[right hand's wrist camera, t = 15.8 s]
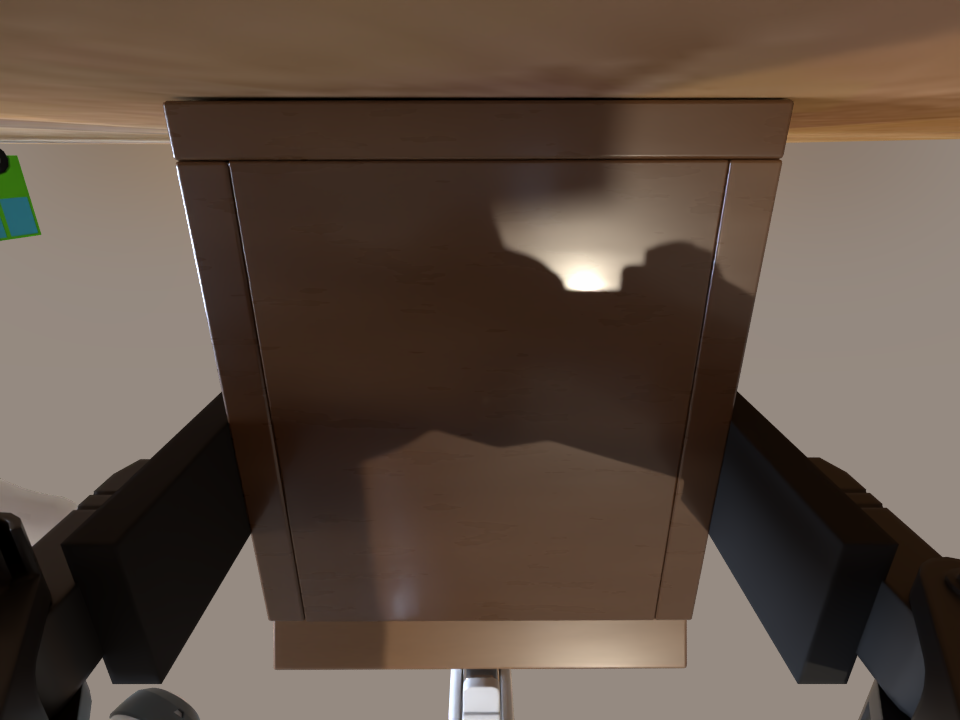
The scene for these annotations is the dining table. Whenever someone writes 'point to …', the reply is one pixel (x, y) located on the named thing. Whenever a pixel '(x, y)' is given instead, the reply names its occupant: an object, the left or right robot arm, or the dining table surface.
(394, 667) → the lid
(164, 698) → the left robot arm
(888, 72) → the dining table surface
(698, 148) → the chest
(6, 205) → the toy car
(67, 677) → the right robot arm
